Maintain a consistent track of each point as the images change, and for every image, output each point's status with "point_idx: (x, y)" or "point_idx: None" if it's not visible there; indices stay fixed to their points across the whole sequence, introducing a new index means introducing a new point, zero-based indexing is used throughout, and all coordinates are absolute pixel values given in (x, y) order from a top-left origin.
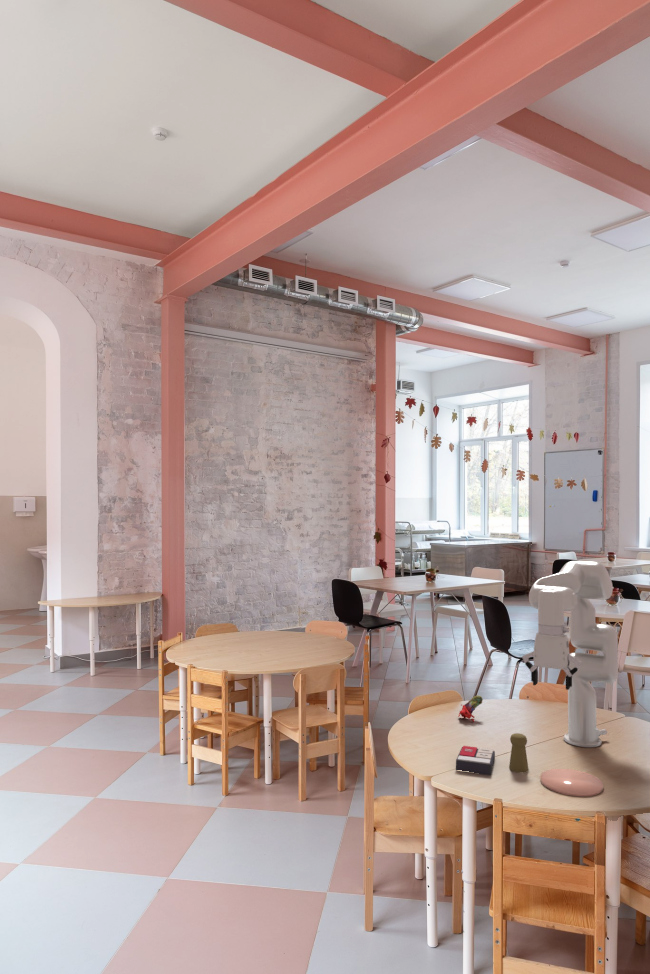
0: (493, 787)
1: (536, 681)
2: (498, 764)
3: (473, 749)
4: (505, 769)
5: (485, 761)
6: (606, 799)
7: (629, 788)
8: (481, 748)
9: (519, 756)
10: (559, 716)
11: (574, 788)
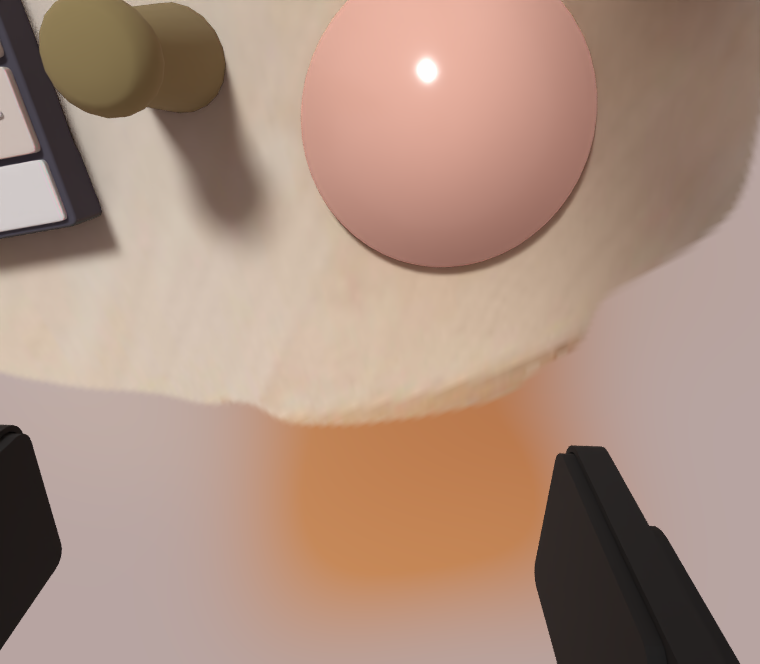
0: (167, 327)
1: (19, 532)
2: None
3: None
4: None
5: (39, 209)
6: (599, 227)
7: (722, 35)
8: None
9: (164, 104)
10: None
11: (470, 220)
